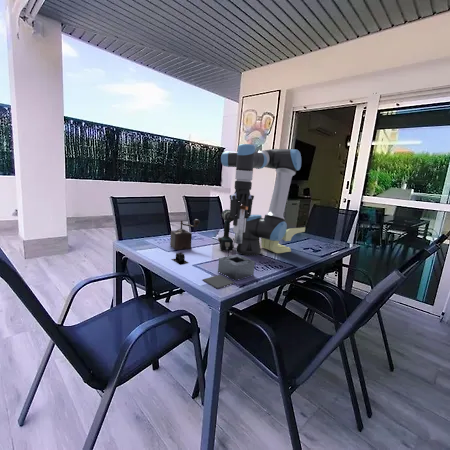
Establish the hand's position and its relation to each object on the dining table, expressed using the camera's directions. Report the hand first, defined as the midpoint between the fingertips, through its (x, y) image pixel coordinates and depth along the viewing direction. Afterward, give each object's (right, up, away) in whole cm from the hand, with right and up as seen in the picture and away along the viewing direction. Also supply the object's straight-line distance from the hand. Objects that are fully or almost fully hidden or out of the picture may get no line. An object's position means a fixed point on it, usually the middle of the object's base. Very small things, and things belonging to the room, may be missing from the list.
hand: (239, 232), depth 120 cm
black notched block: (-30, -16, +16) cm, 38 cm away
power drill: (-5, -13, +41) cm, 43 cm away
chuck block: (-1, -20, +4) cm, 20 cm away
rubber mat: (-9, -22, -7) cm, 24 cm away
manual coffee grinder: (-32, -11, +42) cm, 53 cm away
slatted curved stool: (+26, -13, +50) cm, 58 cm away
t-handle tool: (0, -5, +1) cm, 5 cm away
